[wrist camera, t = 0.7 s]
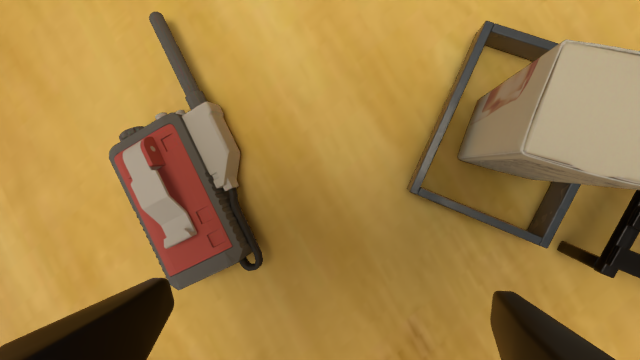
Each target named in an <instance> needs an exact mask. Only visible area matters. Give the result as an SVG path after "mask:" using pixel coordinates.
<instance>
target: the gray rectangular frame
mask: <svg viewBox="0 0 640 360" xmlns="http://www.w3.org/2000/svg"><path fill="white" fill-rule="evenodd" d="M484 45H487V46H490V47H493V48H496V49H499V50H502V51H505V52H508V53H511V54H514V55H517V56H520V57H523V58H526V59H529V60H532V61H535V60H537V59H538V58H540V57H541V56H542V55H544V54H545V53H547V52H548V51H550V50H551V49H552V48H554V47H555V46H557V45H558V43H555V42H551V41H548V40H545V39H542V38H539V37H536V36H533V35H530V34H526V33H523V32H520V31H517V30H514V29H511V28H508V27H505V26H501V25H498V24H494V23H492V22H489V21H486V22H485V23H484V24H483V25H482V27H481V28H480V29H479V30H478V32H477V33H476V34H475V37H474V39H473V41H472V43H471V46H470V48H469V50H468V52H467V55H466V57H465V59H464V61H463V64H462V66H461V68H460V70H459V73H458V75H457V77H456V79H455V82H454V84H453V86H452V88H451V90H450V93H449V95H448V97H447V99H446V102H445V104H444V106H443V108H442V111H441V113H440V115H439V117H438V120H437V122H436V124H435V126H434V129H433V131H432V133H431V135H430V138H429V140H428V142H427V144H426V147H425V149H424V151H423V153H422V156H421V158H420V160H419V162H418V165H417V167H416V169H415V171H414V173H413V176H412V178H411V180H410V182H409V185H408V187H407V189H408V190H409V191H410V192H411V193H414V194H417V195H419V196H421V197H424V198H426V199H428V200H431V201H433V202H436V203H438V204H440V205H443V206H445V207H448V208H450V209H453V210H455V211H457V212H460V213H462V214H465V215H467V216H469V217H472V218H474V219H477V220H479V221H481V222H484V223H486V224H489V225H491V226H494V227H496V228H498V229H501V230H503V231H506V232H508V233H510V234H513V235H515V236H518V237H520V238H522V239H525V240H527V241H530V242H532V243H535V244H537V245H539V246H542V247H544V248H548V246H549V244H550V242H551V240H552V239H553V237H554V235H555V233H556V231H557V229H558V227H559V225H560V223H561V221H562V219H563V218H564V216H565V214H566V212H567V210H568V208H569V206H570V204H571V202H572V200H573V198H574V196H575V195H576V193H577V191H578V189H579V187H580V185H581V184H575V183H564V182H554V181H553V182H552V184H551V186H550V187H549V189H548V191H547V193H546V195H545V197H544V199H543V201H542V203H541V205H540V207H539V209H538V211H537V213H536V215H535V217H534V219H533V221H532V223H531V225H530V227H529V229H528V231H527V230H525V229H522V228H520V227H517V226H515V225H513V224H510V223H508V222H505V221H503V220H500V219H498V218H496V217H493V216H491V215H488V214H486V213H483V212H481V211H478V210H476V209H474V208H471V207H469V206H466V205H464V204H461V203H459V202H456V201H454V200H452V199H449V198H447V197H444V196H442V195H439V194H437V193H435V192H432V191H430V190H427V189H425V188H422V187H421V185H422V182H423V180H424V178H425V176H426V173H427V171H428V169H429V167H430V165H431V162H432V160H433V158H434V156H435V154H436V151H437V149H438V147H439V145H440V142H441V140H442V138H443V136H444V134H445V131H446V129H447V127H448V125H449V123H450V120H451V118H452V116H453V114H454V111H455V109H456V107H457V105H458V103H459V100H460V98H461V96H462V94H463V92H464V89H465V87H466V85H467V83H468V81H469V78H470V76H471V74H472V72H473V69H474V67H475V65H476V63H477V61H478V58H479V56H480V54H481V52H482V50H483V47H484Z"/></svg>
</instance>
